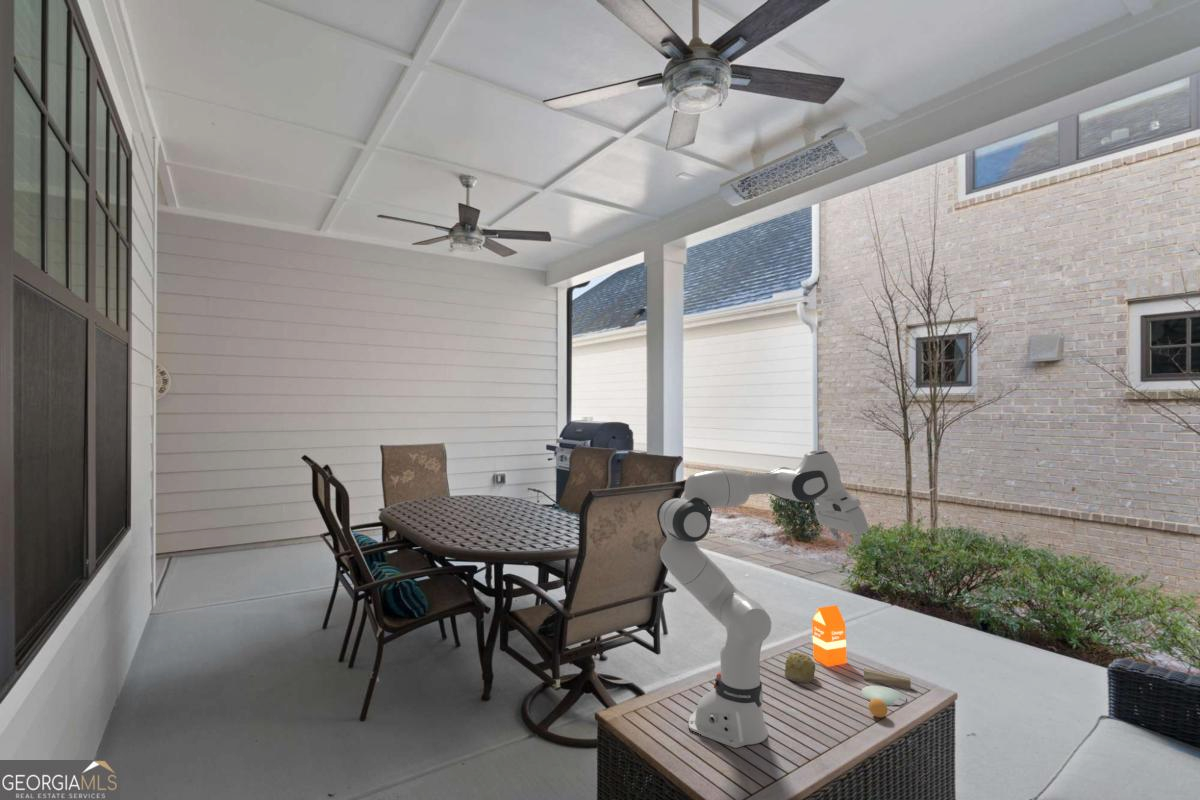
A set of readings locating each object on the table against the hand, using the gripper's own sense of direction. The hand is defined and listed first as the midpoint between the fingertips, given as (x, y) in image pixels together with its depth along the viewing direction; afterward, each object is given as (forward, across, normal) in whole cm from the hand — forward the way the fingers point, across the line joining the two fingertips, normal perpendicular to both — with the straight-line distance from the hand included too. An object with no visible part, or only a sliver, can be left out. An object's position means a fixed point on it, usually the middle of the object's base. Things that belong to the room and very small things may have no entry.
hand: (847, 542), depth 166 cm
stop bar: (+57, -15, +6) cm, 59 cm away
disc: (+54, -8, -1) cm, 55 cm away
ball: (+49, +2, -10) cm, 50 cm away
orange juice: (+55, -36, -1) cm, 65 cm away
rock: (+49, -26, -19) cm, 59 cm away
